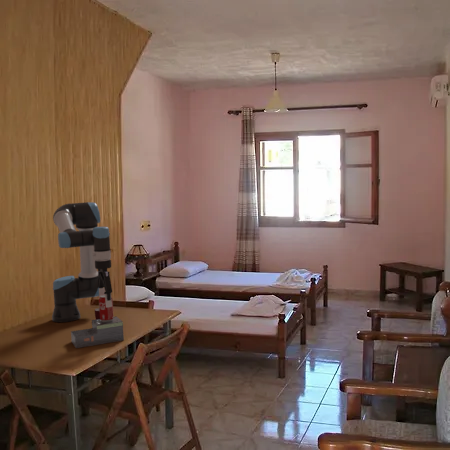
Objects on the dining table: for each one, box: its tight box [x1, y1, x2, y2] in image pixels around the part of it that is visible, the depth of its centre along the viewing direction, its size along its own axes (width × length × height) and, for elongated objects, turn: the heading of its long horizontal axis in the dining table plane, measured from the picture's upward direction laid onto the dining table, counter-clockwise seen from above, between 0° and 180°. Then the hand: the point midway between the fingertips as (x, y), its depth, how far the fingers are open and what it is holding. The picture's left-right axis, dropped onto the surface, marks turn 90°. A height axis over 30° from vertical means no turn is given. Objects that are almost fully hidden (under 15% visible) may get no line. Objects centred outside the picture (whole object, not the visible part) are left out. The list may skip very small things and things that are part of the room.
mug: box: [94, 307, 100, 319], centre depth 282 cm, size 11×8×10 cm
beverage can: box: [98, 295, 115, 322], centre depth 262 cm, size 6×6×12 cm
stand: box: [70, 316, 125, 349], centre depth 260 cm, size 13×22×12 cm, turn 115°
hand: (105, 304), depth 262 cm, fingers open, 13 cm apart
